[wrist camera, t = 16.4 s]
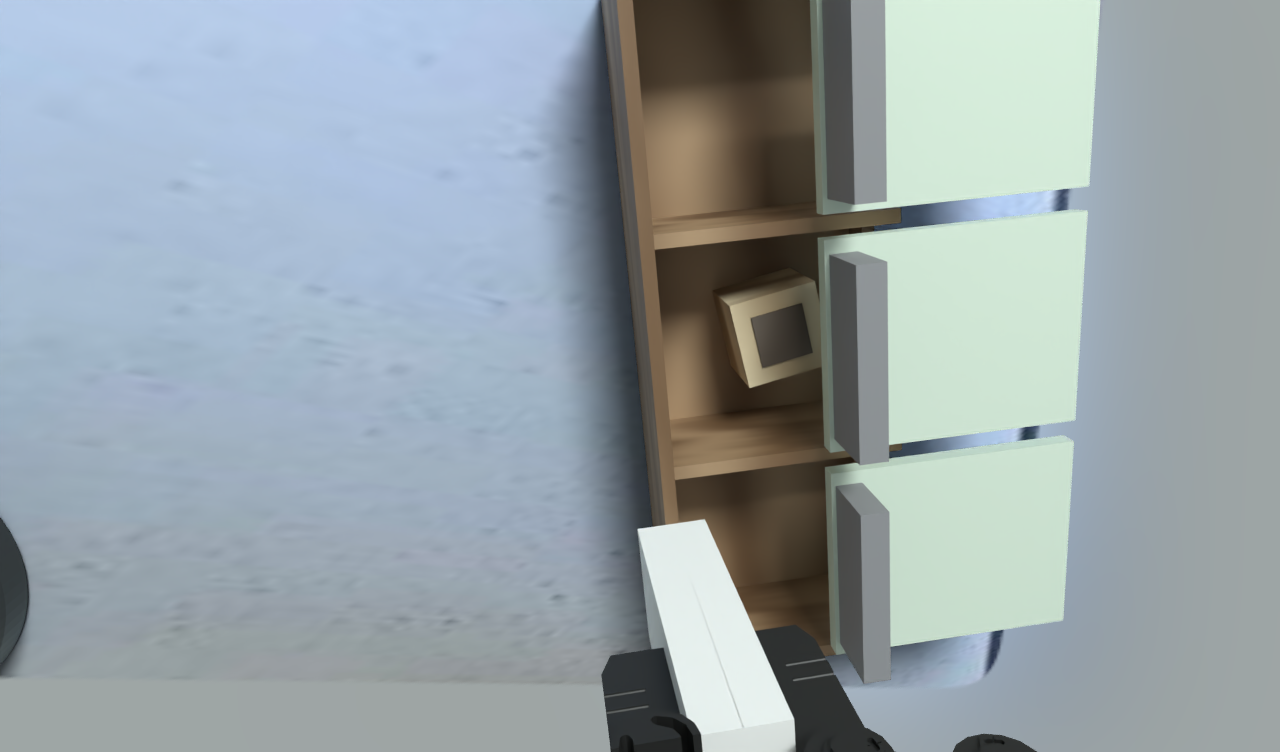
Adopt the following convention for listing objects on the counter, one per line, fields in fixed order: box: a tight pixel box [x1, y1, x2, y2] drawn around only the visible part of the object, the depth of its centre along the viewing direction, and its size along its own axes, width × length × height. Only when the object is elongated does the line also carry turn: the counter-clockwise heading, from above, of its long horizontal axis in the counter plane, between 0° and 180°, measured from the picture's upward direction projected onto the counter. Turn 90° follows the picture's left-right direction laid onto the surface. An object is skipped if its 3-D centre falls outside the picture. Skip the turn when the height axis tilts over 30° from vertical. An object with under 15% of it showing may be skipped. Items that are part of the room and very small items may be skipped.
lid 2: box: [818, 209, 1088, 465], centre depth 34 cm, size 11×9×4 cm
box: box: [601, 0, 902, 656], centre depth 39 cm, size 12×31×7 cm, turn 5°
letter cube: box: [712, 268, 822, 388], centre depth 40 cm, size 4×4×4 cm
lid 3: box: [825, 435, 1074, 684], centre depth 37 cm, size 11×9×4 cm
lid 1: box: [810, 0, 1100, 215], centre depth 31 cm, size 11×9×4 cm
